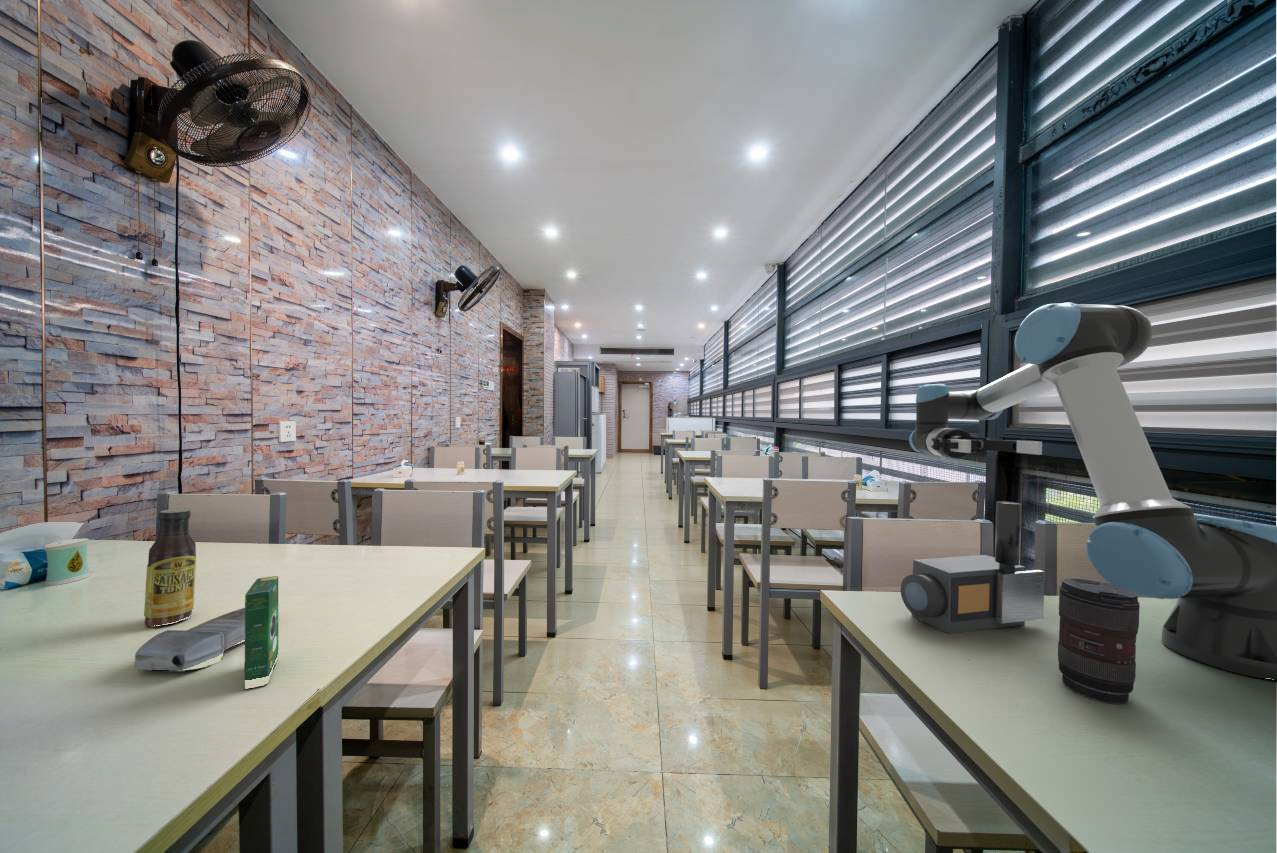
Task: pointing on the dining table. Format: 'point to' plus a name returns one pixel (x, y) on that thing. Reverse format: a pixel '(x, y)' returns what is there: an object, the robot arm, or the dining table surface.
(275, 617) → the coffee box
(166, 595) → the sauce bottle
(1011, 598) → the side door
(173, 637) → the handheld device
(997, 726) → the dining table surface
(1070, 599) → the camera lens
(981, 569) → the camera housing
